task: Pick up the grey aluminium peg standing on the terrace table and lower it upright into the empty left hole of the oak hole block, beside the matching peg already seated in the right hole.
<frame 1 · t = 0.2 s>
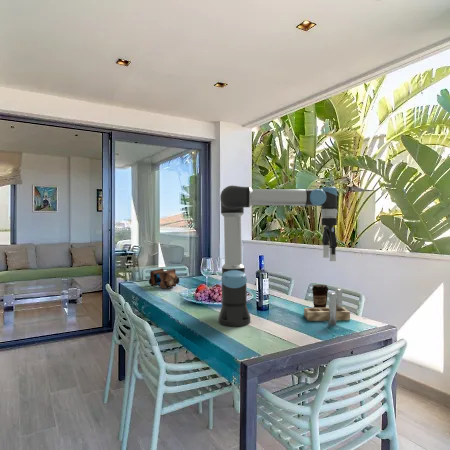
hand: (329, 259, 176), 27 cm above the table, fingers open, 13 cm apart
hole block: (326, 317, 168), on the table
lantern: (166, 287, 243), on the table
peg right: (338, 317, 168), resting in hole block
peg: (332, 323, 159), on the table
coffee cup: (320, 310, 182), on the table
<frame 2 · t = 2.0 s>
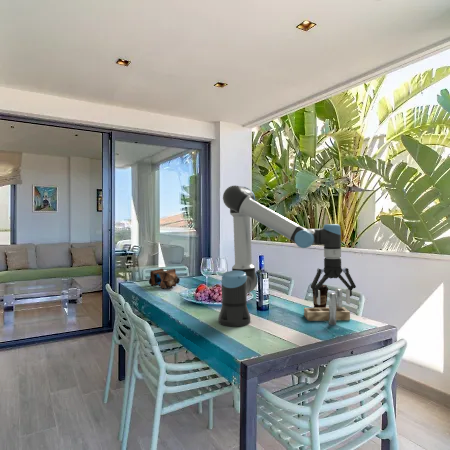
hand: (333, 303, 159), 9 cm above the table, fingers open, 13 cm apart
nothing on the table moved.
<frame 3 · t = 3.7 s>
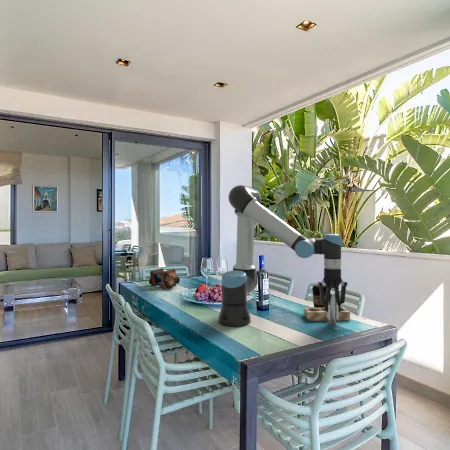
hand: (332, 318, 159), 3 cm above the table, fingers closed on peg, 3 cm apart
peg: (332, 323, 159), on the table, touching gripper
everything else where it was.
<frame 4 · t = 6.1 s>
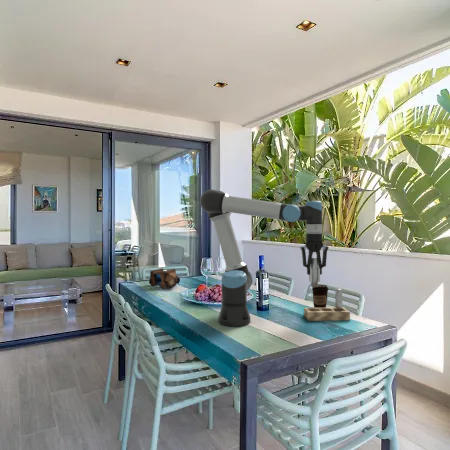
hand: (314, 281, 167), 18 cm above the table, fingers closed on peg, 3 cm apart
peg: (314, 286, 168), point 15 cm above the table, touching gripper
everything else where it was.
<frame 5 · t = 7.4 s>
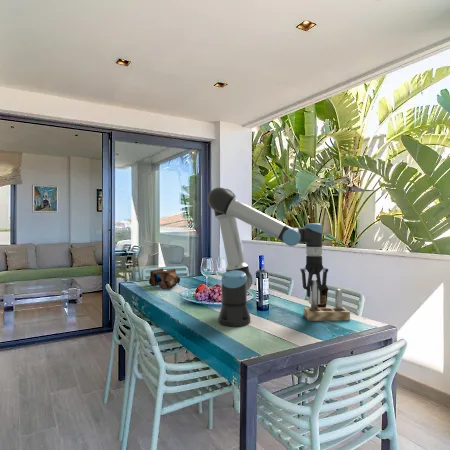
hand: (314, 303, 168), 7 cm above the table, fingers closed on peg, 3 cm apart
peg: (314, 308, 168), point 5 cm above the table, touching gripper
everything else where it was.
when the fingers open (5 cm above the table, at t = 8.3 s): peg drops 2 cm, resting in hole block.
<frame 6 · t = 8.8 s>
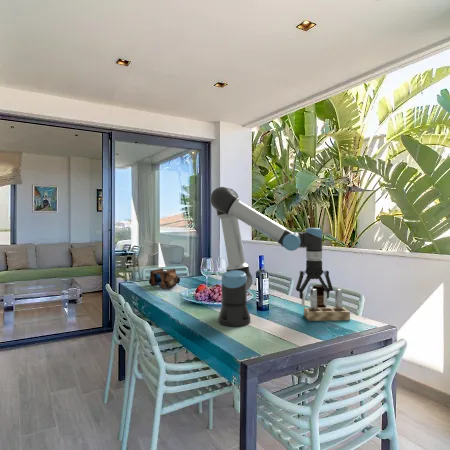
hand: (314, 305, 168), 6 cm above the table, fingers open, 10 cm apart
peg: (314, 317, 168), resting in hole block
everything else where it was.
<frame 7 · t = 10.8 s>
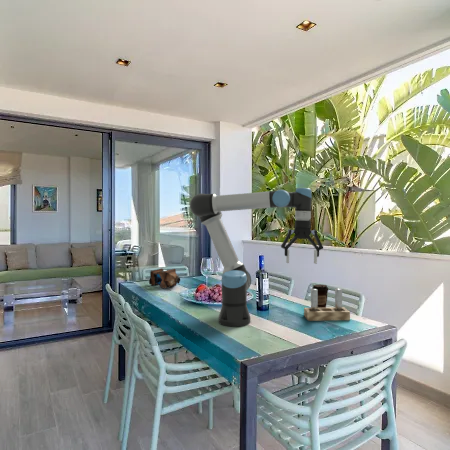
hand: (301, 263, 169), 27 cm above the table, fingers open, 13 cm apart
nothing on the table moved.
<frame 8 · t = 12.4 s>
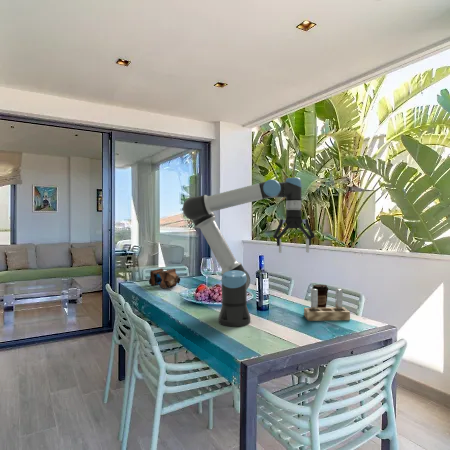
hand: (293, 252, 171), 32 cm above the table, fingers open, 13 cm apart
at the end: peg 0.0 cm from the target spot on the hole block, point 0.0 cm above the hole block's base; peg tilted 0°; the gripper is holding nothing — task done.
